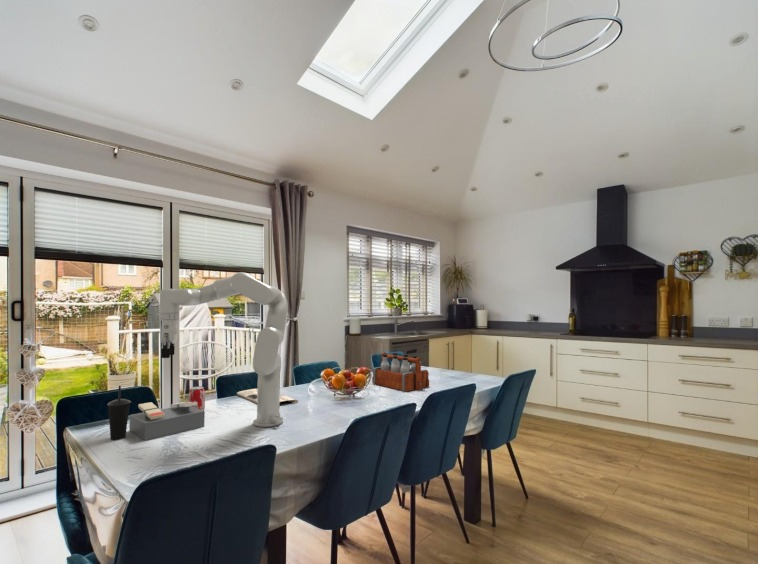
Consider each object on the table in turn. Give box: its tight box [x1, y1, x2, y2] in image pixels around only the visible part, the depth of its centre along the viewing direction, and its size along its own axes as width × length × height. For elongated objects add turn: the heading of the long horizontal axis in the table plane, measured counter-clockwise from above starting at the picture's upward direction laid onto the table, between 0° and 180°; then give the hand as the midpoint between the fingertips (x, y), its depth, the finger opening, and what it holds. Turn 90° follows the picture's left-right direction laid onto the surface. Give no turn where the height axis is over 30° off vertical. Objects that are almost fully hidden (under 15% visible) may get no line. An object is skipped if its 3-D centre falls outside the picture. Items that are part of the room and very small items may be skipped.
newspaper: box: [236, 388, 299, 404], centre depth 220 cm, size 37×19×3 cm, turn 41°
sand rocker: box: [137, 401, 165, 420], centre depth 163 cm, size 14×5×2 cm, turn 49°
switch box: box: [128, 406, 206, 442], centre depth 170 cm, size 22×23×8 cm
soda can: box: [188, 385, 206, 411], centre depth 191 cm, size 7×7×12 cm
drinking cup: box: [106, 385, 132, 441], centre depth 157 cm, size 8×8×20 cm
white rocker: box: [170, 401, 197, 407], centre depth 173 cm, size 14×5×2 cm, turn 49°
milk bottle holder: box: [371, 352, 430, 392], centre depth 255 cm, size 21×35×19 cm, turn 42°
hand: (167, 356), depth 176 cm, fingers open, 9 cm apart
